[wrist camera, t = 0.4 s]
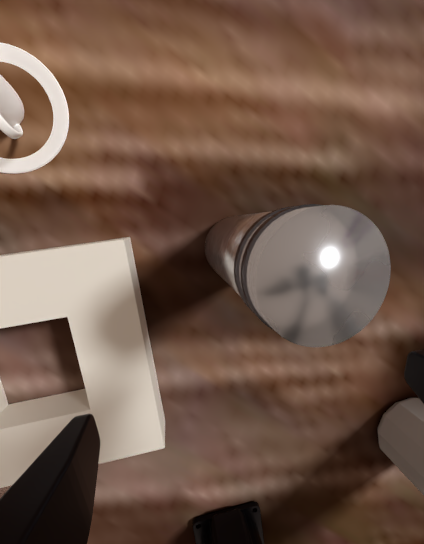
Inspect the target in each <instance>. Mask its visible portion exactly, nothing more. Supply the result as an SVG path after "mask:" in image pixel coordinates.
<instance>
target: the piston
mask: <svg viewBox="0 0 424 544" xmlns="http://www.w3.org/2000/svg"><path fill="white" fill-rule="evenodd" d="M205 254H206V258H207V261H208V263H209V264H210V266H211V267H212V268H213V269H214V270H215V271H216V272H217V273H218V274H219V275H220V276H221V277H222V278H223V279H224V280H225V281H226V282H227V283H228V284H229V285H230V286H231V287H232V288H233V289H234V290H235V291H236V292H237V293H238V294H239V295H240V296H241V298H242V300H243V301H244V303H245V304H246V305H247V306H248V307H249V308H250V309H251V310H252V312H253V313H255V314H256V316H257V317H258V318H259V319H260V320H261V321H262V322H263V323H265V324H266V325H267V326H268V327H270V328H271V329H273V330H275V331H276V332H277V333H278V334H279V335H281V336H282V337H284V338H285V339H287V340H288V341H291V342H293V343H295V344H298V345H302V346H307V347H325V346H331V345H334V344H338V343H340V342H343V341H345V340H347V339H349V338H351V337H352V336H354V335H355V334H357V333H358V332H360V331H361V330H362V329H363V328H364V327H365V326H366V325H367V324H368V323H369V322H370V321H371V320H372V319H373V317H374V316H375V315H376V313H377V312H378V310H379V308H380V306H381V305H382V303H383V300H384V298H385V296H386V293H387V289H388V286H389V280H390V269H391V267H390V257H389V252H388V248H387V245H386V242H385V240H384V238H383V236H382V234H381V233H380V231H379V230H378V228H377V227H376V226H375V225H374V223H373V222H372V221H371V220H369V219H368V218H367V217H366V216H365V215H363V214H361V213H359V212H358V211H356V210H353V209H351V208H348V207H344V206H338V205H316V204H310V205H300V206H294V207H286V208H281V209H277V210H274V211H272V212H264V213H255V214H247V215H238V216H231V217H227V218H224V219H222V220H220V221H219V222H217V223H216V224H215V225H214V226H213V227H212V228H211V230H210V231H209V233H208V235H207V238H206V241H205Z"/></svg>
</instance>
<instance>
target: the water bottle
mask: <svg viewBox="0 0 424 544" xmlns="http://www.w3.org/2000/svg"><path fill="white" fill-rule="evenodd" d="M377 430H378V440H379V447H380V449H381V450H382V451H383V452H384V453H385V454H386V456H387V457H388V458H389V459H390V460H391V461H392V462H393V463H394V464H395V465H396V466H397V467H398V468H399V469H400V470H401V471H402V473H403V474H404V475H405V476H406V477H407V478H408V479H409V480H410V481H411V482H412V483H413V484H414V485H415V486H416V487H417V488H418V489H419V491H420V492H421V493H422V494H423V495H424V404H423V402H422V401H421V400H420V399H419V398H408V399H405V400H402V401H399V402H396V403H395V404H394V405H393V406H392V407H390V408H389V409H388V410H387V411H386V412H385V413H384V414H383V416H382V419H381V421H380V423H379V426H378V428H377Z"/></svg>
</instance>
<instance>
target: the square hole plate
mask: <svg viewBox="0 0 424 544" xmlns="http://www.w3.org/2000/svg"><path fill="white" fill-rule="evenodd" d="M64 317H68V321H69V325H70V329H71V333H72V337H73V341H74V345H75V349H76V353H77V357H78V361H79V365H80V369H81V373H82V377H83V381H84V385H85V389H81V390H76V391H71V392H66V393H62V394H57V395H52V396H47V397H42V398H37V399H33V400H28V401H23V402H18V403H13V404H8V401H7V398H6V395H5V392H4V389H3V386H2V382H1V379H0V488H3V487H7V486H11V485H13V484H14V483H15V482H16V481H17V479H18V478H19V477H20V476H21V475H22V474H23V473H24V472H25V471H26V470H27V468H28V467H29V466H30V465H31V464H32V463H33V462H34V461H35V460H36V458H37V457H38V456H39V455H40V454H41V453H42V452H43V451H44V450H45V448H46V447H47V446H48V445H49V444H50V443H51V442H52V441H53V440H54V438H55V437H56V436H57V435H58V434H59V433H60V432H61V431H62V430H63V428H64V427H65V426H66V425H67V424H68V423H69V422H70V421H71V420H72V419H73V418H74V417H75V416H79V415H84V414H92V415H93V416H94V419H95V422H96V426H97V429H98V432H99V436H100V453H99V462H98V464H101V463H105V462H110V461H114V460H118V459H122V458H126V457H130V456H134V455H138V454H142V453H147V452H151V451H155V450H159V449H163V448H165V417H164V412H163V407H162V402H161V396H160V391H159V386H158V381H157V376H156V370H155V365H154V360H153V355H152V349H151V344H150V339H149V334H148V328H147V323H146V318H145V313H144V308H143V302H142V297H141V292H140V287H139V281H138V276H137V271H136V266H135V261H134V255H133V250H132V245H131V240H130V237H127V238H119V239H112V240H105V241H98V242H91V243H84V244H77V245H69V246H62V247H55V248H48V249H41V250H34V251H27V252H20V253H12V254H5V255H0V328H6V327H12V326H18V325H23V324H29V323H35V322H41V321H47V320H52V319H58V318H64Z"/></svg>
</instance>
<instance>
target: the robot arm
mask: <svg viewBox="0 0 424 544" xmlns="http://www.w3.org/2000/svg"><path fill="white" fill-rule="evenodd" d="M404 377H405V380H406V382H407V383H408V385H409V386H410V387H411V389H412V390H413V391H414V392H415V394H416V395H417V396H418V397H419V399H420V400H421V401H422V402H423V404H424V350H417V351H412V352H410V353H409V354H408V356H407V361H406V366H405V371H404ZM99 453H100V436H99V432H98V429H97V426H96V422H95V419H94V416H93V415H92V414H84V415H79V416H75V417H74V418H73V419H72V420H71V421H70V422H69V423H68V424H67V425H66V426H65V427H64V428H63V430H62V431H61V432H60V433H59V434H58V435H57V436H56V437H55V438H54V440H53V441H52V442H51V443H50V444H49V445H48V446H47V447H46V448H45V450H44V451H43V452H42V453H41V454H40V455H39V456H38V457H37V458H36V460H35V461H34V462H33V463H32V464H31V465H30V466H29V467H28V468H27V470H26V471H25V472H24V473H23V474H22V475H21V476H20V477H19V478H18V479H17V481H16V482H15V483H14V484H13V485H12V486H11V487H10V488H9V489H8V491H7V492H6V493H5V494H4V495H3V496H2V497H1V498H0V544H87V541H88V536H89V531H90V526H91V520H92V513H93V506H94V497H95V488H96V480H97V471H98V462H99ZM193 530H194V535H195V541H196V544H264V539H263V530H262V522H261V514H260V508H259V505H258V503H257V502H251V503H248V504H244V505H241V506H237V507H233V508H230V509H226V510H223V511H219V512H216V513H212V514H208V515H205V516H201V517H198V518H195V519H194V520H193Z"/></svg>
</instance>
